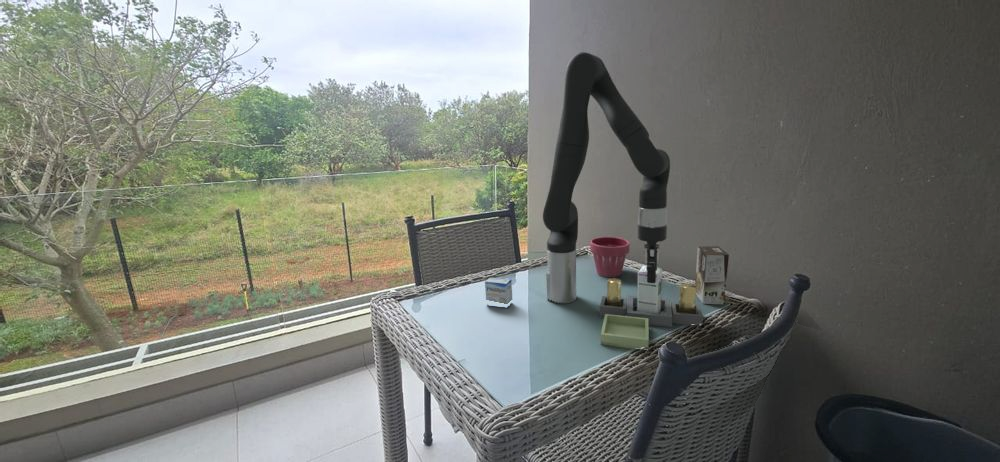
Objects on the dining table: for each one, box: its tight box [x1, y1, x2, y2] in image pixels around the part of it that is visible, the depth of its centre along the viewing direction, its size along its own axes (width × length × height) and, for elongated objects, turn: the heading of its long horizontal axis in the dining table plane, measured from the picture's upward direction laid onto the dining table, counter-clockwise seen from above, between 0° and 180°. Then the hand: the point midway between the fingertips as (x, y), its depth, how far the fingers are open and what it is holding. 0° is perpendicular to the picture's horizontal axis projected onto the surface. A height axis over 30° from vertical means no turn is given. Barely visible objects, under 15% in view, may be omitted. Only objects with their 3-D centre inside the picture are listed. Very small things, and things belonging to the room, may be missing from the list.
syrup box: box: [636, 265, 663, 314], centre depth 111 cm, size 6×6×14 cm
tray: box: [600, 314, 650, 350], centre depth 102 cm, size 12×12×3 cm
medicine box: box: [484, 277, 513, 304], centre depth 125 cm, size 8×4×9 cm, turn 68°
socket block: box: [599, 294, 704, 328], centre depth 113 cm, size 28×12×3 cm, turn 69°
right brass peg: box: [678, 283, 696, 314], centre depth 108 cm, size 4×4×10 cm
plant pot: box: [589, 236, 630, 278], centre depth 145 cm, size 14×14×13 cm
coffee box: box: [694, 245, 730, 305], centre depth 119 cm, size 9×6×16 cm
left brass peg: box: [606, 277, 622, 307], centre depth 115 cm, size 4×4×10 cm
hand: (651, 277), depth 110 cm, fingers open, 8 cm apart
